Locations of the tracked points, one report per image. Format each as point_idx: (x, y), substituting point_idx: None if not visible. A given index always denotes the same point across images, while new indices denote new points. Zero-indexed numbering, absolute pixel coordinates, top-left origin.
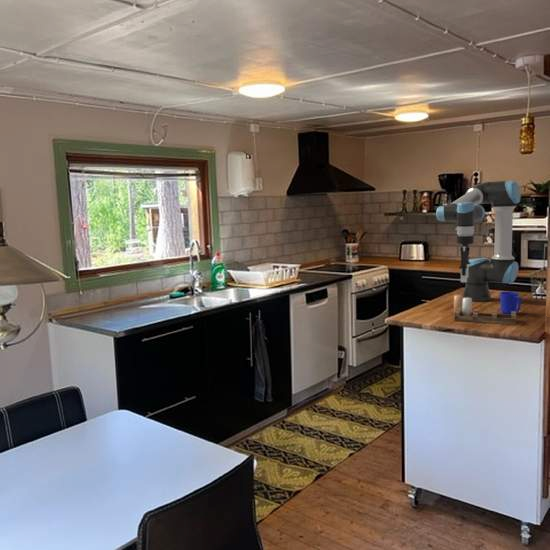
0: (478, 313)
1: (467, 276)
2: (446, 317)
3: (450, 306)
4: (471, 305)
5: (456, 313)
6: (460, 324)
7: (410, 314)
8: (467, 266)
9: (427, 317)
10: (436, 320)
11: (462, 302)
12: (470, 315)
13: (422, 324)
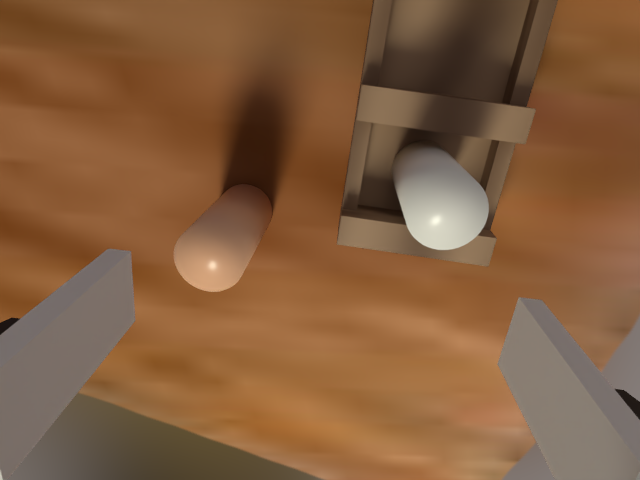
0: (424, 92)
1: (121, 270)
2: (370, 281)
3: (14, 240)
4: (450, 160)
5: (489, 252)
6: (575, 215)
7: (316, 442)
8: (17, 373)
9: (384, 373)
10: (462, 335)
11: (226, 208)
12: (446, 151)
13: None
